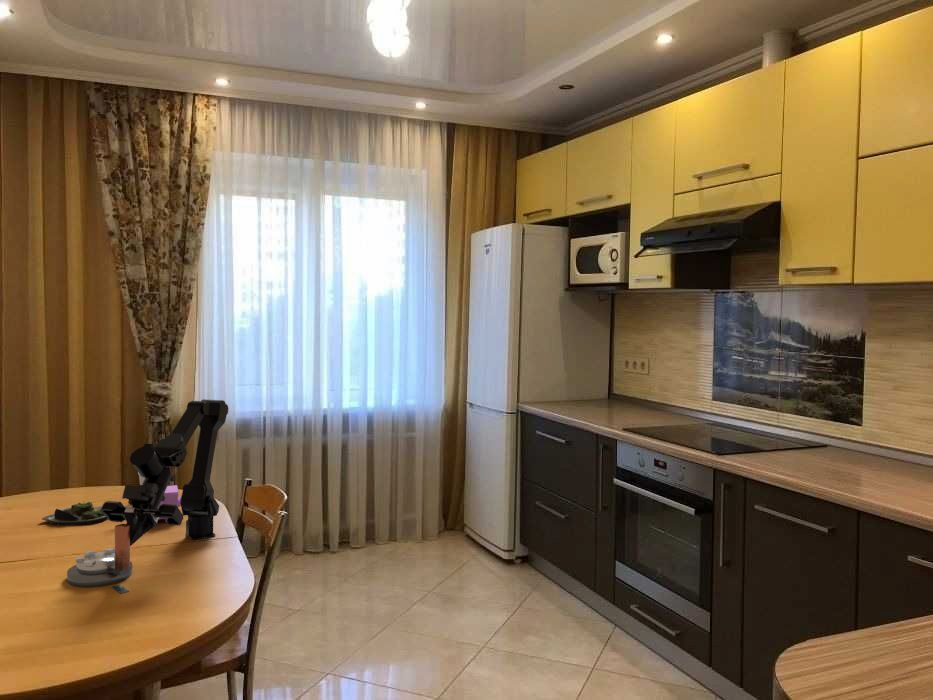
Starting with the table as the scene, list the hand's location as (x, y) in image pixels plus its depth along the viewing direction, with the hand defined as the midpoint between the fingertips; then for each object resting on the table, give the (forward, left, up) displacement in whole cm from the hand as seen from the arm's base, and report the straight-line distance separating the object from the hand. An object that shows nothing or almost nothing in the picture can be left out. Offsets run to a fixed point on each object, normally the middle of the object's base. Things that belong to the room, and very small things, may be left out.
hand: (128, 545), depth 168 cm
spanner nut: (+4, -5, -6) cm, 9 cm away
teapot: (-20, -47, -9) cm, 51 cm away
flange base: (+4, -4, -9) cm, 11 cm away
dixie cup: (-24, -70, -9) cm, 74 cm away
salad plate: (-1, -62, -9) cm, 62 cm away
